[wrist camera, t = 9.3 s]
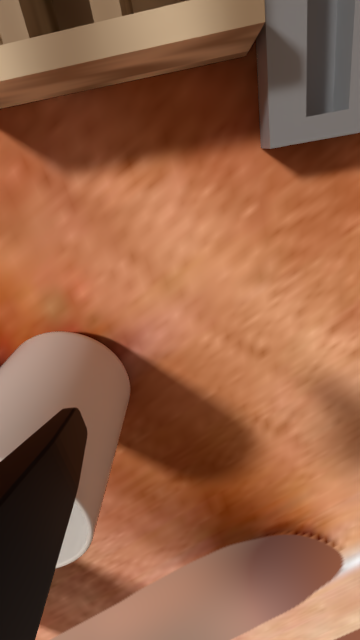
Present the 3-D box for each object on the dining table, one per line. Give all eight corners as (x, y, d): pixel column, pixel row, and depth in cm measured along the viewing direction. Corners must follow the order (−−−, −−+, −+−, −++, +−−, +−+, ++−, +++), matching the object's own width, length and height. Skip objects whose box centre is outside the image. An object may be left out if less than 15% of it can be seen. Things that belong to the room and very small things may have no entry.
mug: (140, 335, 23) (99, 475, 13) (127, 426, 27) (88, 583, 18) (-33, 304, 23) (-208, 426, 13) (-20, 401, 27) (-145, 549, 17)
